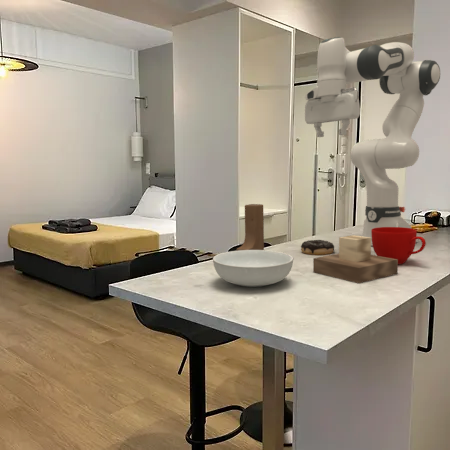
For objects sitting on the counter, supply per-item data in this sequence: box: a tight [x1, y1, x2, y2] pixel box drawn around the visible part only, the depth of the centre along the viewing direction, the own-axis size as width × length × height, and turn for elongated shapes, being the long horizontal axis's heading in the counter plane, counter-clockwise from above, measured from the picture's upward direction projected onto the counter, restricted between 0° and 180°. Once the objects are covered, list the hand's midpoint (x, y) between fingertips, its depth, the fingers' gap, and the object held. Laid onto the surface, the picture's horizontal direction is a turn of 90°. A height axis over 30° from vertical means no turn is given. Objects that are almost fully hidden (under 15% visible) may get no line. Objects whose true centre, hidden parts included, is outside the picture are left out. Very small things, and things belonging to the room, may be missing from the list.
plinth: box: [312, 253, 399, 284], centre depth 125 cm, size 16×16×4 cm
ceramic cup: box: [371, 227, 427, 265], centre depth 136 cm, size 13×17×10 cm
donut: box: [300, 239, 335, 256], centre depth 156 cm, size 11×12×4 cm
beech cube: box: [338, 234, 372, 262], centre depth 124 cm, size 6×6×6 cm
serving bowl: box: [212, 249, 294, 288], centre depth 117 cm, size 21×21×7 cm
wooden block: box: [236, 203, 265, 251], centre depth 144 cm, size 9×4×18 cm, turn 138°
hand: (331, 136), depth 143 cm, fingers open, 8 cm apart
